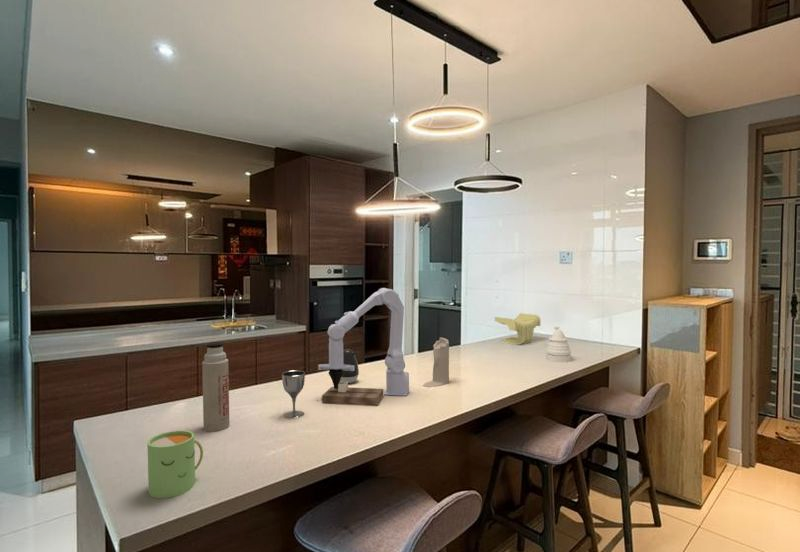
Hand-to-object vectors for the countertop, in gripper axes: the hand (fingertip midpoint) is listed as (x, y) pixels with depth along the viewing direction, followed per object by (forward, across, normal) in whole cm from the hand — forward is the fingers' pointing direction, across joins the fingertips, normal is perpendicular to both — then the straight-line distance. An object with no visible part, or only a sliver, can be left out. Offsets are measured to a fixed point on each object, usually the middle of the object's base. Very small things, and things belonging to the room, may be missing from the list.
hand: (336, 388), depth 173 cm
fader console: (+4, -7, 0) cm, 8 cm away
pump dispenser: (+5, +2, -24) cm, 25 cm away
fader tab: (+1, -3, 0) cm, 3 cm away
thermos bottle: (+4, +31, +34) cm, 46 cm away
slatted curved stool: (+5, -86, -133) cm, 158 cm away
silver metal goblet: (+5, +10, +19) cm, 22 cm away
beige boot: (+5, -38, -27) cm, 47 cm away
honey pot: (+5, -102, -83) cm, 131 cm away
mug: (+4, +19, +70) cm, 73 cm away
